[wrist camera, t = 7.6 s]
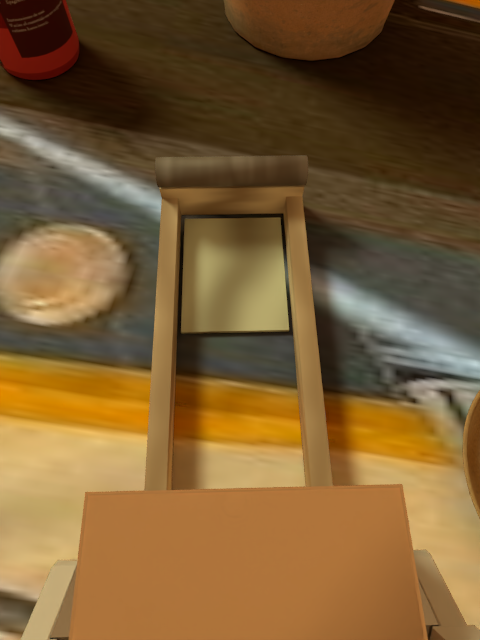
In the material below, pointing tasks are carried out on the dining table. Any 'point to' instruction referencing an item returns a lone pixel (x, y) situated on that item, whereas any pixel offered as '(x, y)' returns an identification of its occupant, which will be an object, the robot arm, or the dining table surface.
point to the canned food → (37, 38)
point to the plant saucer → (473, 451)
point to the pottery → (308, 25)
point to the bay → (234, 284)
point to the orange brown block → (247, 565)
